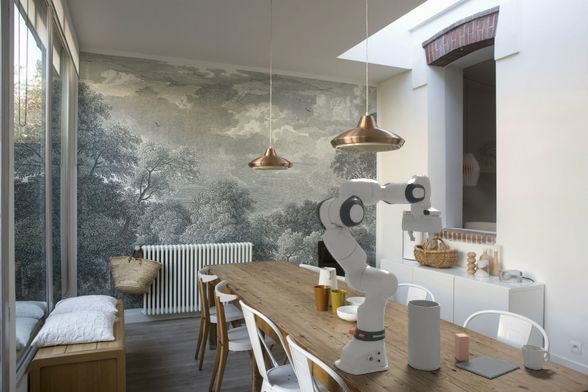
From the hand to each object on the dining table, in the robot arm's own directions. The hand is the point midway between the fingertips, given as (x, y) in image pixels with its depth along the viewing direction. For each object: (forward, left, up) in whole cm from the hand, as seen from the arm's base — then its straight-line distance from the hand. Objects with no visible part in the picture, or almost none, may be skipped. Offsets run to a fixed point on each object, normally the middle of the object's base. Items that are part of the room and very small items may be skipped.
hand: (420, 241), depth 192 cm
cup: (+21, -40, -48) cm, 66 cm away
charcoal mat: (+5, -29, -48) cm, 56 cm away
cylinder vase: (-15, -14, -48) cm, 52 cm away
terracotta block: (+4, -18, -48) cm, 51 cm away
